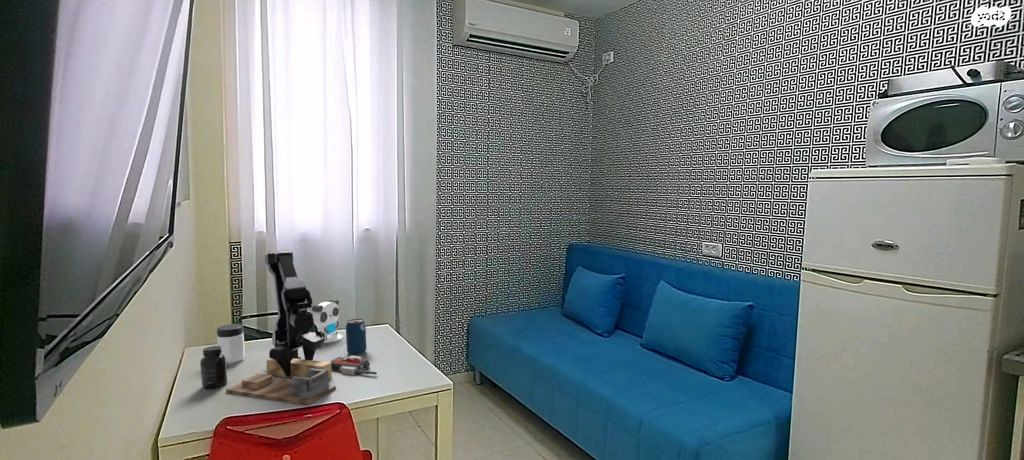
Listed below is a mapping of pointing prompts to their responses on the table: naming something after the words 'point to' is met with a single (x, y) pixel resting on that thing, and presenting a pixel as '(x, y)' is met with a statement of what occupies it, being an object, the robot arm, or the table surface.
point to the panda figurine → (327, 319)
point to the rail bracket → (286, 387)
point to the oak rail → (298, 367)
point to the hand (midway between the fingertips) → (299, 371)
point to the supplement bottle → (213, 368)
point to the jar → (231, 342)
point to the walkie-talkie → (351, 365)
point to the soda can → (356, 336)
